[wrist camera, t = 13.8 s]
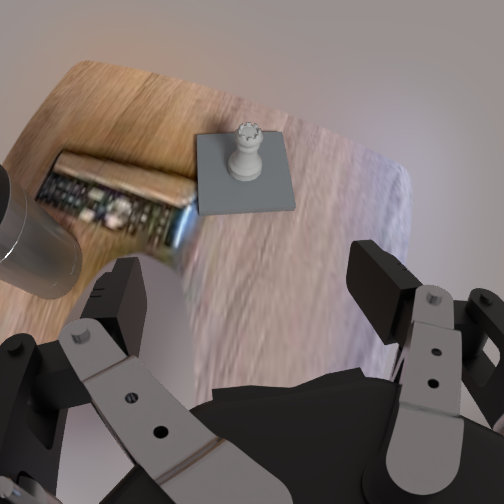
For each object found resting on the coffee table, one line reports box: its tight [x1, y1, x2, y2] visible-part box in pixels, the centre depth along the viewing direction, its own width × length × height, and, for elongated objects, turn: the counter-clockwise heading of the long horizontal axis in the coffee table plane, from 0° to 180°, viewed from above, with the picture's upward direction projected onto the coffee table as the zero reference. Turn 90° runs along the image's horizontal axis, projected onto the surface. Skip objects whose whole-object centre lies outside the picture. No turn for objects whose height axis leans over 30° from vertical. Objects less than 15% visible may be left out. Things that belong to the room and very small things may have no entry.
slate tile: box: [197, 132, 296, 216], centre depth 42 cm, size 12×12×1 cm
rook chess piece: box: [228, 122, 263, 181], centre depth 38 cm, size 4×4×8 cm
